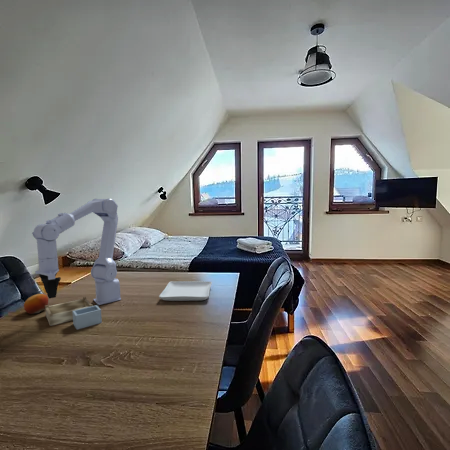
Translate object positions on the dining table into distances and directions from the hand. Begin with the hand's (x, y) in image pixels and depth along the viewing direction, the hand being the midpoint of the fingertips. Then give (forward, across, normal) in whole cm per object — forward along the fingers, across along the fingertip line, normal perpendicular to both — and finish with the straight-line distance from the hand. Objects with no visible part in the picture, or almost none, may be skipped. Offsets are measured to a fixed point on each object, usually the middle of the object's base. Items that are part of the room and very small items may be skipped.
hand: (50, 294), depth 98 cm
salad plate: (+10, +8, +52) cm, 53 cm away
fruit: (+10, -14, -4) cm, 18 cm away
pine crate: (+10, -1, +6) cm, 11 cm away
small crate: (+10, +10, +9) cm, 17 cm away
